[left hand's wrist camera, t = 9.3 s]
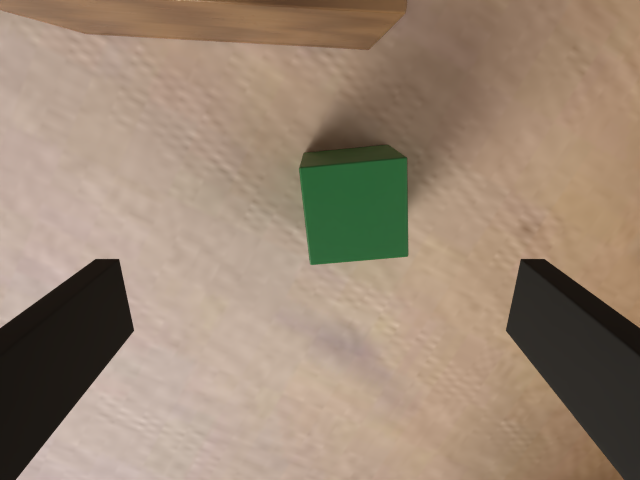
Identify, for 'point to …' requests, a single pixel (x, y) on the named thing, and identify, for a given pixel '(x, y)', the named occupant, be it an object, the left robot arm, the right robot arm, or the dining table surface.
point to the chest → (224, 19)
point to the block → (355, 204)
